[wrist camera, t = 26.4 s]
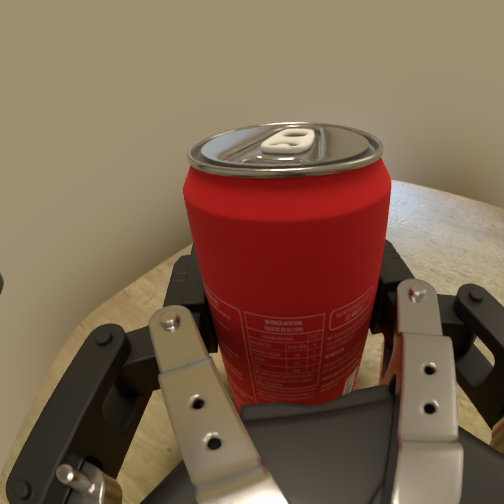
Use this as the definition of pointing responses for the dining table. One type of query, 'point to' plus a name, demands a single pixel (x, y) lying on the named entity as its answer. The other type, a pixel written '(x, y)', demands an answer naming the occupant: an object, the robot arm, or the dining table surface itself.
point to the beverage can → (289, 253)
